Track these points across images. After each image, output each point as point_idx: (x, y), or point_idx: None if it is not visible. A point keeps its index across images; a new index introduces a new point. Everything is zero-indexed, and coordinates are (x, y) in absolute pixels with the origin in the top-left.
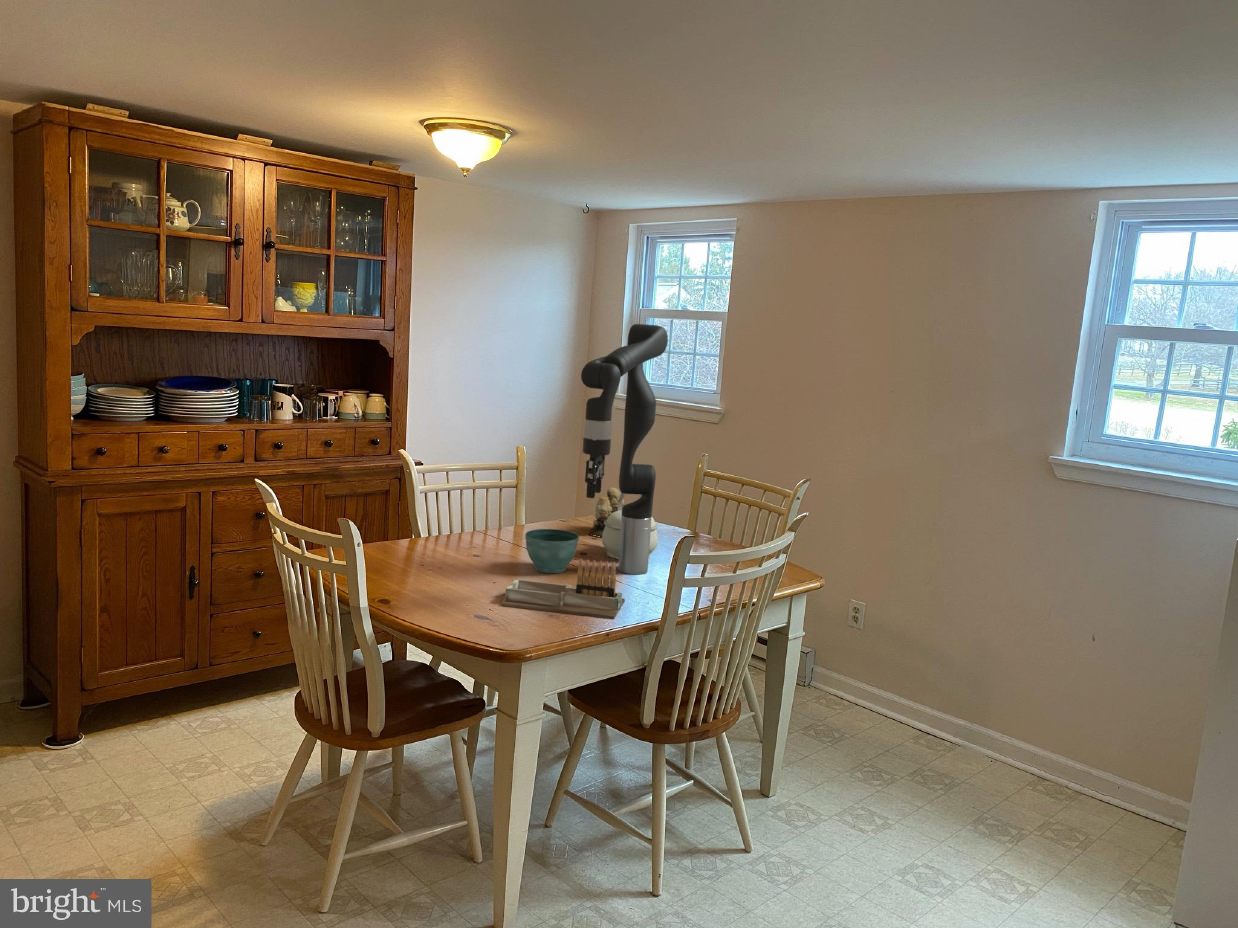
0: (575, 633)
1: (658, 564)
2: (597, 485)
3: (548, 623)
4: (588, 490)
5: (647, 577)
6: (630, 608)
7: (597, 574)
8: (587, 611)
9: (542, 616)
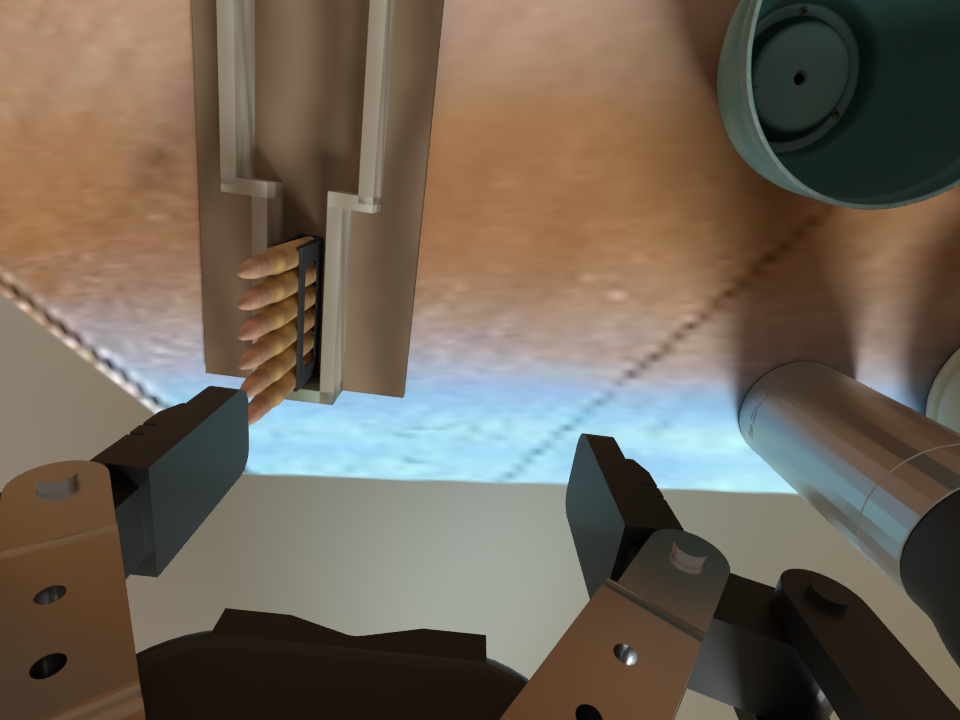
0: (16, 260)
1: None
2: (587, 525)
3: (70, 158)
4: (127, 444)
5: (706, 458)
6: (337, 413)
7: (259, 338)
8: (216, 286)
9: (135, 126)
